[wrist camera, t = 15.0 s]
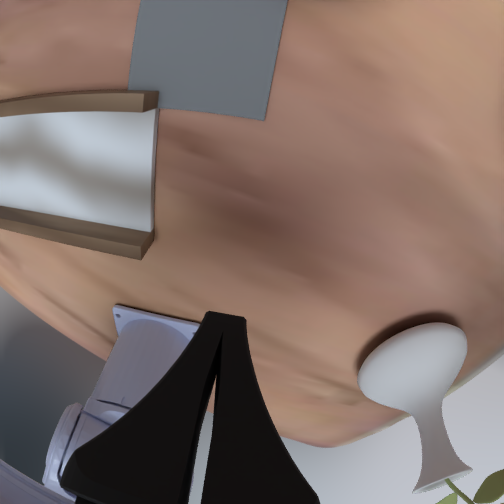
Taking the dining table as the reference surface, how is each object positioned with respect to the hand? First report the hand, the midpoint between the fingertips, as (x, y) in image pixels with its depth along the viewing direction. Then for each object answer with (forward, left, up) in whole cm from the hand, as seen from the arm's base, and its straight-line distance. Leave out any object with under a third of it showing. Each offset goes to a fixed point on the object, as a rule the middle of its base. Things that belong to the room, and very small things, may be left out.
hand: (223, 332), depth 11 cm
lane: (+2, +19, -9) cm, 21 cm away
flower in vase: (-10, -18, -10) cm, 23 cm away
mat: (+10, +4, -9) cm, 14 cm away
